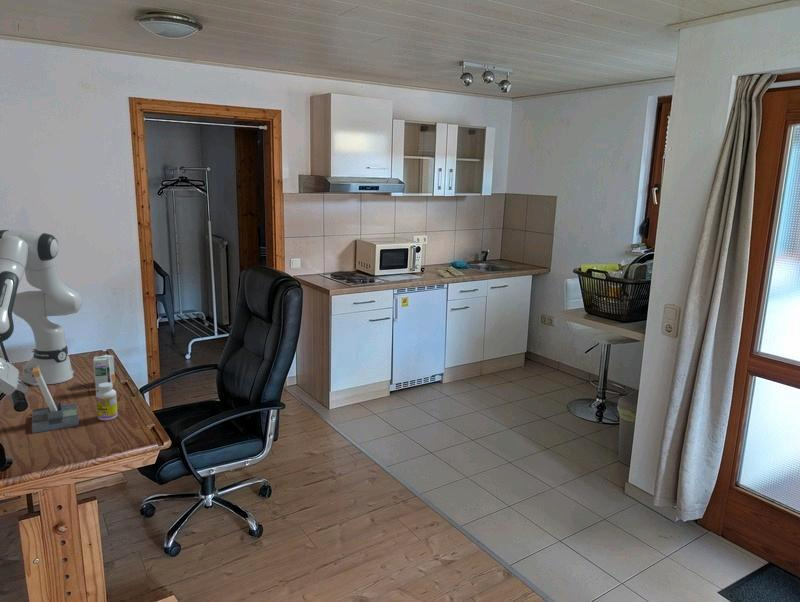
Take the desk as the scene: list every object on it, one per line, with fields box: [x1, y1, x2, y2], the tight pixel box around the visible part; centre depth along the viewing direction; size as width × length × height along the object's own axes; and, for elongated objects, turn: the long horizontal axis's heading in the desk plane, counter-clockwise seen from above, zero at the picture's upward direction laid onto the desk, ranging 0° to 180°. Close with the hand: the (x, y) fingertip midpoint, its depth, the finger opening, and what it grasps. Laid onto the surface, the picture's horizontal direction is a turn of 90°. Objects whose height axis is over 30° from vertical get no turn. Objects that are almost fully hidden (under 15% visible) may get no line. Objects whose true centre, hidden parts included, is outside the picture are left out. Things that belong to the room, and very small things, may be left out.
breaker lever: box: [32, 367, 57, 412], centre depth 203 cm, size 2×7×18 cm, turn 31°
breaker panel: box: [31, 401, 80, 434], centre depth 206 cm, size 14×16×5 cm
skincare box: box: [102, 354, 116, 384], centre depth 243 cm, size 6×4×12 cm
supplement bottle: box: [95, 382, 118, 421], centre depth 210 cm, size 7×7×13 cm
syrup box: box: [92, 355, 111, 394], centre depth 235 cm, size 6×6×14 cm
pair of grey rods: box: [32, 403, 77, 412], centre depth 216 cm, size 14×3×2 cm, turn 121°
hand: (27, 390), depth 200 cm, fingers closed
